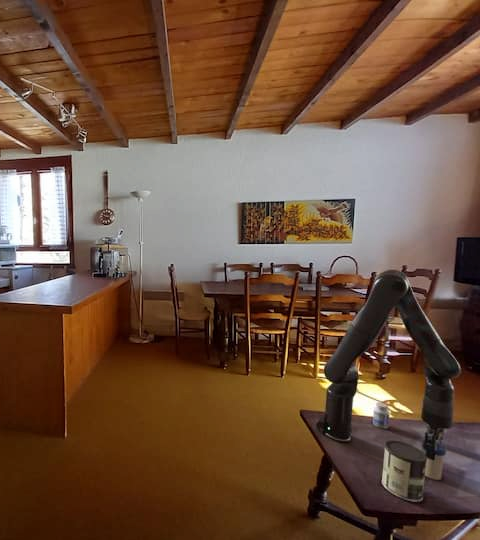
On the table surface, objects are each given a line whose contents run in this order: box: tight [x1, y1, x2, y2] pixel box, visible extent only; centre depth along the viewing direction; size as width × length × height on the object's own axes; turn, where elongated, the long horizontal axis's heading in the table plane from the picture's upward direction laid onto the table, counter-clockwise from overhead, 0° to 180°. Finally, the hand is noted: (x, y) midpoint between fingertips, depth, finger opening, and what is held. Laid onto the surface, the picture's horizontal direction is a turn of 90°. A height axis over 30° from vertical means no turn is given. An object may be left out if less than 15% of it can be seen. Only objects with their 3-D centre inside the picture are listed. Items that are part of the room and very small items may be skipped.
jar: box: [421, 447, 445, 481], centre depth 108 cm, size 5×5×11 cm
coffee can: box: [381, 439, 427, 503], centre depth 101 cm, size 10×10×14 cm
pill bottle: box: [372, 402, 390, 429], centre depth 137 cm, size 6×5×10 cm
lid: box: [421, 439, 447, 457], centre depth 107 cm, size 6×6×2 cm
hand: (432, 455), depth 108 cm, fingers closed on lid, 5 cm apart
